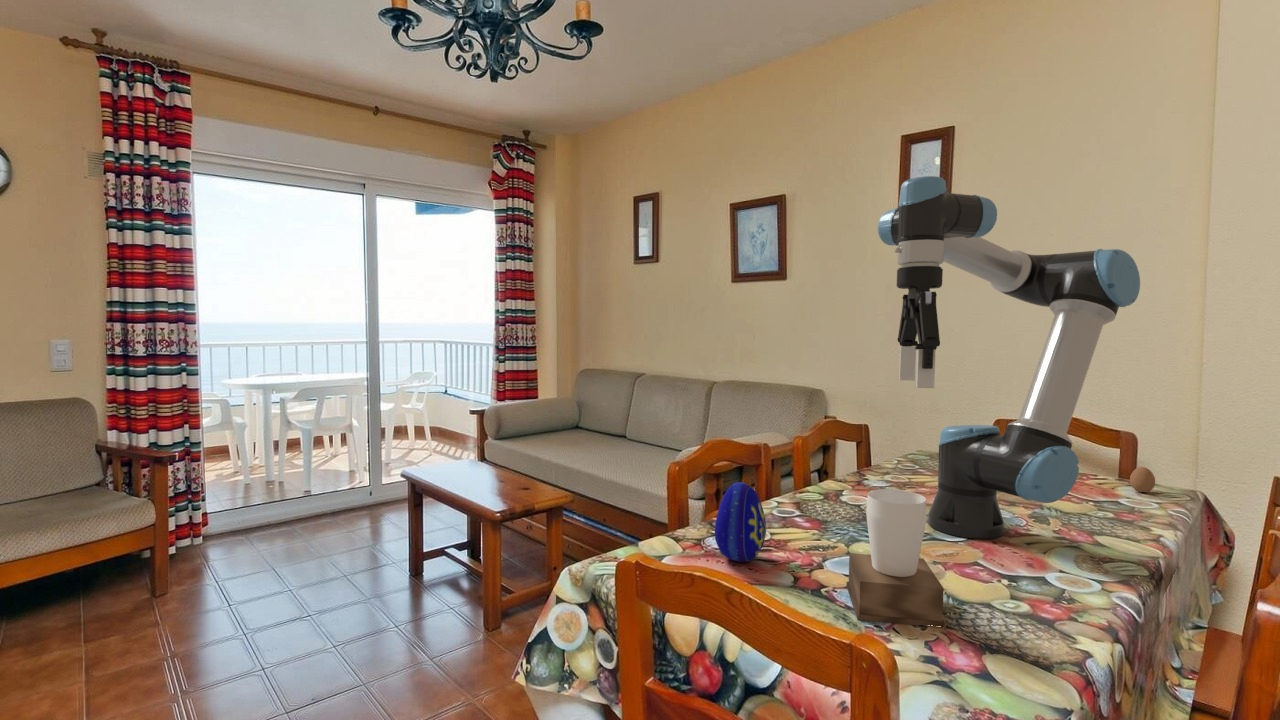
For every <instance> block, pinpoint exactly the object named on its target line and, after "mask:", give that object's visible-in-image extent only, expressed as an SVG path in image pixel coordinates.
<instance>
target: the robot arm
mask: <svg viewBox="0 0 1280 720" xmlns="http://www.w3.org/2000/svg"><path fill="white" fill-rule="evenodd" d="M947 191H948V188H947V182H946V179H944V178H943V177H942V176H935V175H934V176H932V175H931V176H929V175H928V176H919V177H918V176H917V177H913V178H909V179H907V180H905V181H903V182H902V184H901V186H900V191H899V201H898V204H897V205H898V207H895V208H893V209H890V210H889V209H888V210H887V211H885V212H883V214H882V215H881V216H880V218H879V220H878V222H877V223H878V224H877V234H878V236H879V238H880V240H881V241H882V242H883V244H885V245H887V246H897V247H895V248H894V253H895V254H898V255H897V264H898V265H899V266H900V267H898V269H896V270H897V271H896V288H898V289H902V290H903V289H904V290H908V293H907V294H903V296H902V307H901V315H900V321H899V329H898V335H897V342H898V344H899V368H898V369H899V371H898V372H899V373H898V375H899V376H898V380H899V381H912V382H913V381H915V383H916V384H915V388H917V389H935V371H936V369H935V368H936V367H935V366H936V350H937V348H938V347H940V345H941V340H940V330H939V328H940V327H939V322H938V321H939V320H938V319H939V318H938V311H937V309H938V308H937V295H938V294H937V292H936V291H931V289H940V288H942V286H943V275H944V274H943V270H944V269H943V268H942V267H941V266H940V265H941V264H943V263H947V264H949V265H951V266H954V267H955V268H957V269H960V270H962V271H964V272H967V273H969V274H971V275H974V276H976V277H979V278H980V279H983V280H984V281H987V282H989V283H990V286H992V288H993V289H994V290H996V291H998V292H999V293H1002V294H1004V295H1007V296H1009V297H1011V298H1014V299H1017V300H1019V301H1022V302H1024V303H1029V304H1032V305H1036V306H1039V307H1046V308H1049V310H1050V311H1051V312H1052V314H1053V315H1054V317H1053V319H1052V322H1051V325H1050V328H1049V331H1048V334H1047V337H1046V339H1045V343H1044V344H1043V348H1042V351H1041V354H1040V356H1039V358H1038V362H1037V365H1036V368H1035V372H1034V375H1033V377H1032V380H1031V382H1030V385H1029V389H1028V392H1027V394H1026V397H1025V398H1024V399H1025V400H1024V403H1023V406H1022V408H1021V412H1020V413H1019V417H1018V419H1017V420H1015V421H1012V422H1009V423H1008V424H1007V425H1006V428H1005V431H1004V434H1003V435H1002V434H1001V431H1000V428H999V426H996V425H987V424H986V425H985V424H983V425H982V424H980V425H979V424H974V425H973V424H971V425H969V424H968V425H967V424H966V425H950V426H949V425H948V426H945V427H944V428H942V430H941V431H940V435H939V437H940V438H939V443H938V473H937V475H938V477H937V481H938V483H937V492H936V494H935V497H934V499H933V502H932V504H931V507H929V511H928V514H927V516H928V518H927V523H928V526H930V527H931V528H933V529H934V530H936V531H939V532H941V533H944V534H947V535H952V536H955V537H962V538H967V539H968V538H969V539H979V540H988V539H989V540H990V539H991V540H992V539H997V538H998V539H999V538H1000V537H1002V536H1004V535H1005V520H1004V517H1003V515H1002V512H1001V508H1000V504H999V502H998V498H997V492H1000V493H1004V494H1008V495H1010V496H1011V495H1012V496H1015V497H1019V498H1021V499H1023V500H1025V501H1031V502H1032V501H1033V502H1037V503H1042V504H1050V503H1051V504H1052V503H1055V502H1057V501H1059V500H1061V499H1063V498H1064V497H1065V496H1067V494H1069V493H1070V491H1071V490H1072V488H1073V487H1074V486H1075V484H1076V482H1077V479H1078V477H1079V476H1078V475H1079V472H1080V471H1079V470H1080V467H1079V466H1078V465H1079V463H1080V462H1079V458H1078V456H1077V454H1076V452H1075V451H1074V450H1072V447H1073V441H1072V439H1070V436H1068V431H1069V427H1070V424H1071V421H1072V417H1073V415H1074V412H1075V410H1076V406H1077V404H1078V400H1079V398H1080V395H1081V391H1082V389H1083V386H1084V384H1085V383H1084V382H1085V380H1086V377H1087V374H1088V371H1089V368H1090V366H1091V362H1092V359H1093V356H1094V353H1095V351H1096V348H1097V345H1098V342H1099V339H1100V335H1101V332H1102V330H1103V326H1105V325H1107V324H1108V323H1109V324H1110V323H1111V322H1113V321H1115V319H1116V316H1117V313H1118V310H1119V308H1126V307H1129V306H1131V305H1132V304H1133V303H1134V302H1135V301H1136V300H1137V299H1138V297H1139V295H1140V290H1141V275H1140V272H1139V270H1138V269H1139V268H1138V266H1137V263H1136V262H1135V260H1134V258H1133V257H1132V255H1130V254H1129V253H1128V252H1126V251H1125V250H1122V249H1119V248H1118V249H1117V248H1115V249H1113V248H1112V249H1102V248H1098V249H1096V250H1088V251H1087V250H1086V251H1078V252H1077V251H1075V252H1064V253H1053V254H1052V253H1051V254H1029V253H1026V252H1025V251H1021V250H1009V249H1007V248H1004V247H1002V246H1001V245H998V244H996V243H994V242H991V241H989V240H987V239H985V238H983V237H984V236H986V235H987V234H989V233H990V232H991V230H993V228H994V226H995V225H996V223H997V219H998V218H997V217H998V209H997V206H996V204H995V203H994V202H993V200H991V199H990V198H987V197H984V196H980V195H977V194H973V195H972V194H962V193H952V192H947Z"/></svg>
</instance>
